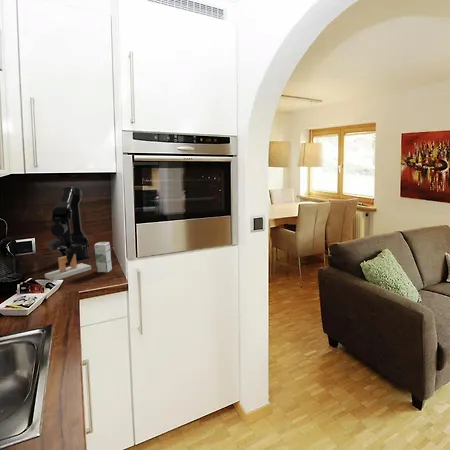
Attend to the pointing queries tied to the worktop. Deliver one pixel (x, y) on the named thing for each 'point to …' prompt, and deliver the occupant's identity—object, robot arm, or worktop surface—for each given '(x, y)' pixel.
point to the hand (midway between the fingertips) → (67, 262)
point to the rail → (67, 272)
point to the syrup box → (103, 256)
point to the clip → (64, 260)
